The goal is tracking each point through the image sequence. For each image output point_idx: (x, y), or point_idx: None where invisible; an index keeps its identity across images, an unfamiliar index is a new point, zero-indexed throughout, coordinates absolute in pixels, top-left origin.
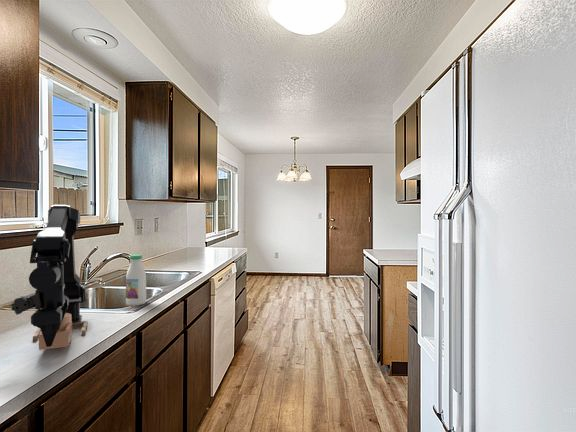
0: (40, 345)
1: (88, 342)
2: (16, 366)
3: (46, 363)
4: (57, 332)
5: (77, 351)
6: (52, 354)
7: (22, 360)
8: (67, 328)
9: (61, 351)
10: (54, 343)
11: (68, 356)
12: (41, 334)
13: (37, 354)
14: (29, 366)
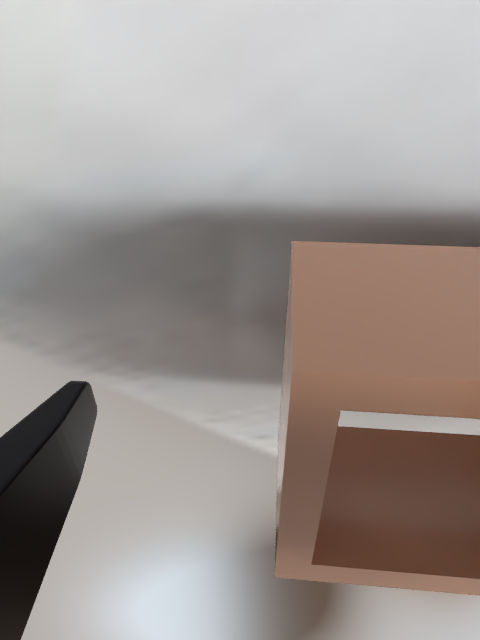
0: (290, 285)
1: None
2: (116, 3)
3: (124, 273)
4: (289, 522)
5: None
6: None
7: (298, 34)
8: (398, 579)
9: None
10: (282, 396)
11: (225, 388)
12: (296, 401)
13: (420, 172)
14: (85, 149)
